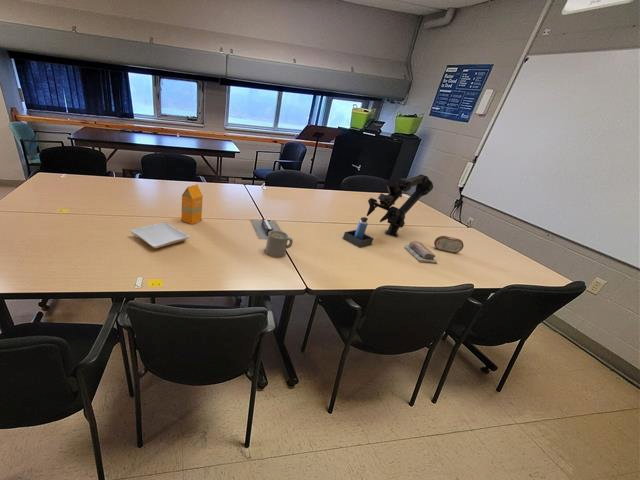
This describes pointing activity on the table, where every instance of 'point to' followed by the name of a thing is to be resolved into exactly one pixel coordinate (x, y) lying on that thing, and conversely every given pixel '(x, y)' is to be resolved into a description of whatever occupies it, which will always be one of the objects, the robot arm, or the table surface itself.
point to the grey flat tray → (264, 227)
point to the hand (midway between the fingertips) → (373, 218)
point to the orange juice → (192, 204)
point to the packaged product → (420, 252)
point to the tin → (448, 244)
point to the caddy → (360, 243)
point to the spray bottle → (361, 228)
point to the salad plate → (160, 234)
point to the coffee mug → (277, 243)
